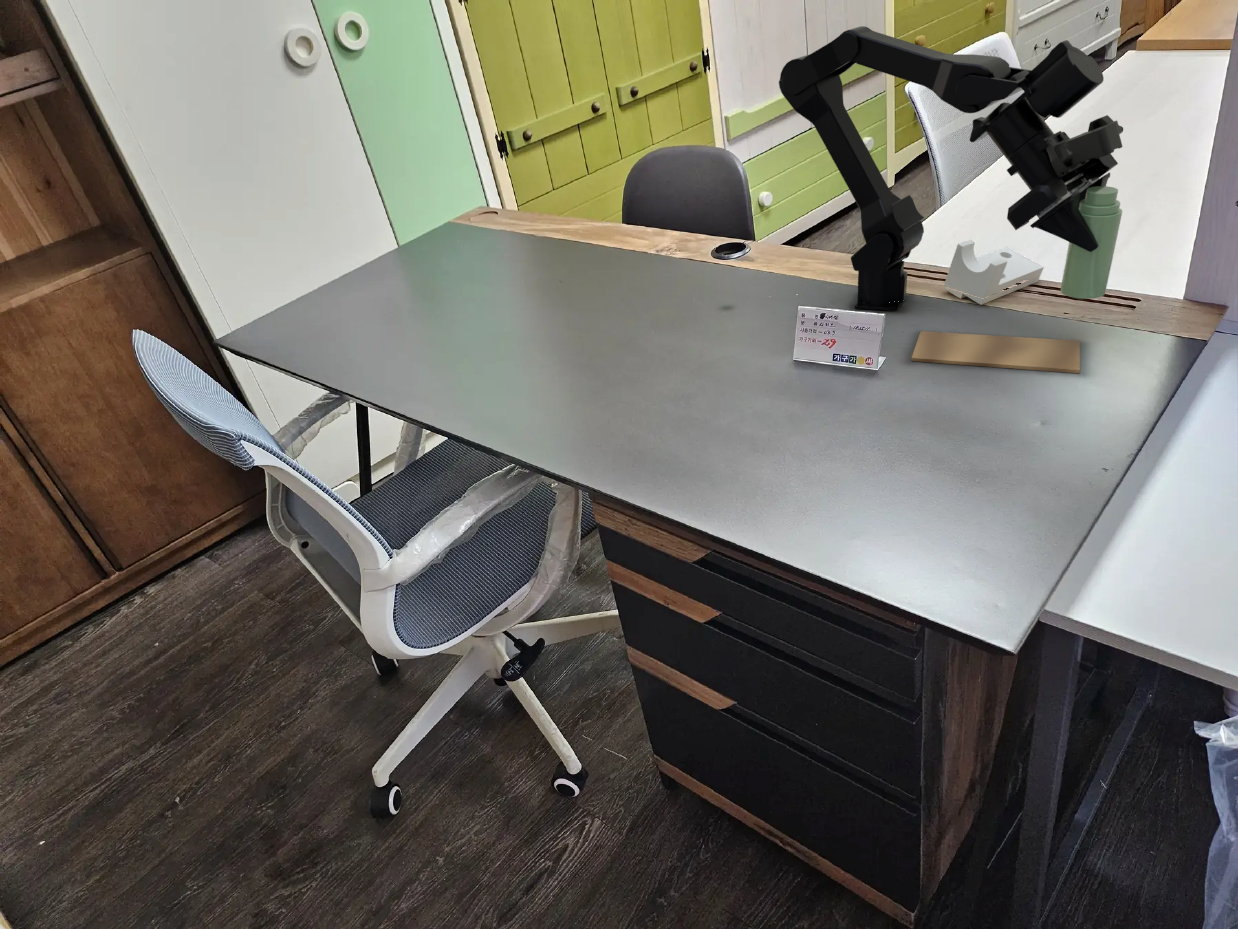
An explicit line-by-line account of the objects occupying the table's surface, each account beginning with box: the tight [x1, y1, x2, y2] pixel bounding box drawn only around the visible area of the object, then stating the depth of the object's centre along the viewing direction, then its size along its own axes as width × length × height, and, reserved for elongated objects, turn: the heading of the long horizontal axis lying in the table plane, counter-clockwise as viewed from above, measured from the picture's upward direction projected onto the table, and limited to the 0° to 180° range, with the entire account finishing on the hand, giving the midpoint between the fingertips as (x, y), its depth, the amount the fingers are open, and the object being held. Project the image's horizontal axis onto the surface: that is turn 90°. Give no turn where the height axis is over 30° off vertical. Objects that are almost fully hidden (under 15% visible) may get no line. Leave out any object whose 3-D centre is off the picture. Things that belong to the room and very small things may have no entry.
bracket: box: [943, 239, 1045, 306], centre depth 129 cm, size 13×7×8 cm, turn 121°
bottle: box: [1060, 185, 1123, 300], centre depth 106 cm, size 5×5×13 cm
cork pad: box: [910, 330, 1081, 374], centre depth 112 cm, size 20×9×1 cm, turn 66°
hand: (1103, 243), depth 105 cm, fingers closed on bottle, 5 cm apart
